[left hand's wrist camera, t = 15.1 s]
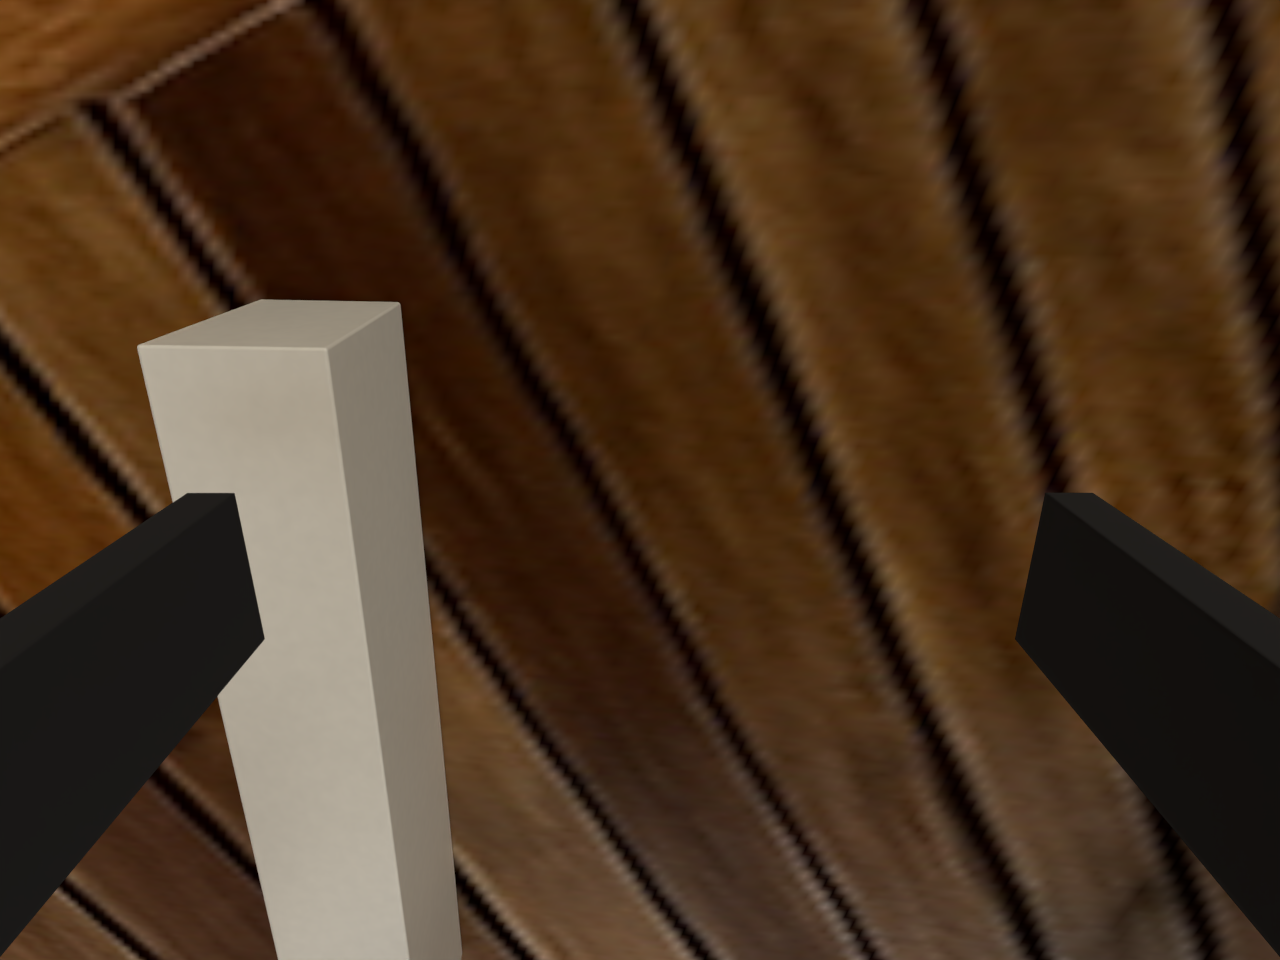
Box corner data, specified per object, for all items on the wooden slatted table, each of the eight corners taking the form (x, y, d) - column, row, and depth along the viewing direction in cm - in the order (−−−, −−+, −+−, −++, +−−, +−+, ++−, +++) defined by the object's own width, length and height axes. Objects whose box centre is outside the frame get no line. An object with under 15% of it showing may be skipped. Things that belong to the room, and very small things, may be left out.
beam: (259, 298, 27) (134, 344, 20) (400, 301, 27) (326, 348, 20) (367, 953, 40) (314, 1121, 33) (462, 952, 40) (430, 1118, 33)
